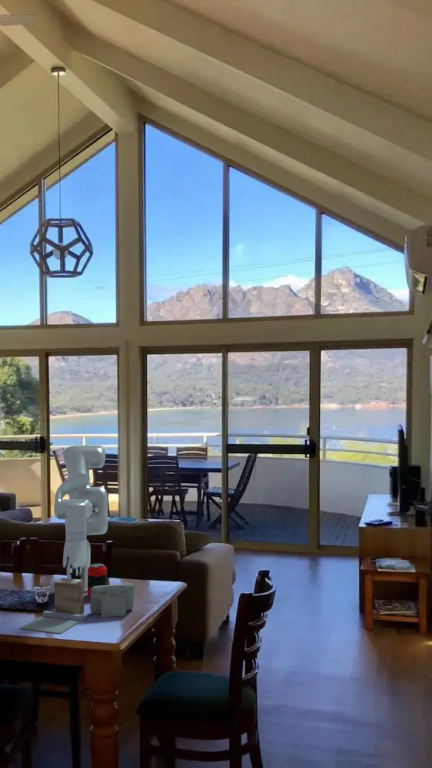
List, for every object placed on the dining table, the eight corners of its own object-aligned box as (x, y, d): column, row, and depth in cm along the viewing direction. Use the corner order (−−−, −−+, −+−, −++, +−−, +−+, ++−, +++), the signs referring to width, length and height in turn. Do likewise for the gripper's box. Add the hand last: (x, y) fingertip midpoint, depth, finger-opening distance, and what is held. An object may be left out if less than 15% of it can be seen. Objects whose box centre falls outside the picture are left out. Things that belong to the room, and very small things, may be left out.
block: (62, 610, 241) (61, 577, 240) (84, 612, 238) (83, 579, 238) (55, 615, 236) (54, 581, 236) (77, 617, 233) (76, 584, 233)
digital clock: (135, 609, 244) (135, 580, 244) (133, 616, 235) (134, 587, 235) (91, 610, 242) (91, 581, 243) (88, 618, 233) (88, 588, 234)
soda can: (96, 599, 255) (96, 568, 256) (83, 596, 260) (83, 565, 260) (110, 595, 261) (110, 564, 262) (97, 591, 266) (97, 562, 266)
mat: (39, 617, 233) (39, 616, 233) (79, 622, 228) (79, 621, 228) (19, 628, 222) (19, 627, 222) (60, 634, 217) (60, 632, 217)
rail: (45, 614, 236) (45, 610, 236) (84, 619, 231) (84, 615, 231) (43, 616, 235) (43, 612, 235) (82, 620, 230) (82, 616, 230)
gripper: (77, 531, 250) (77, 580, 249) (56, 539, 236) (55, 590, 235) (94, 533, 248) (94, 581, 247) (74, 540, 234) (74, 592, 233)
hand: (75, 585), depth 241 cm, fingers closed
